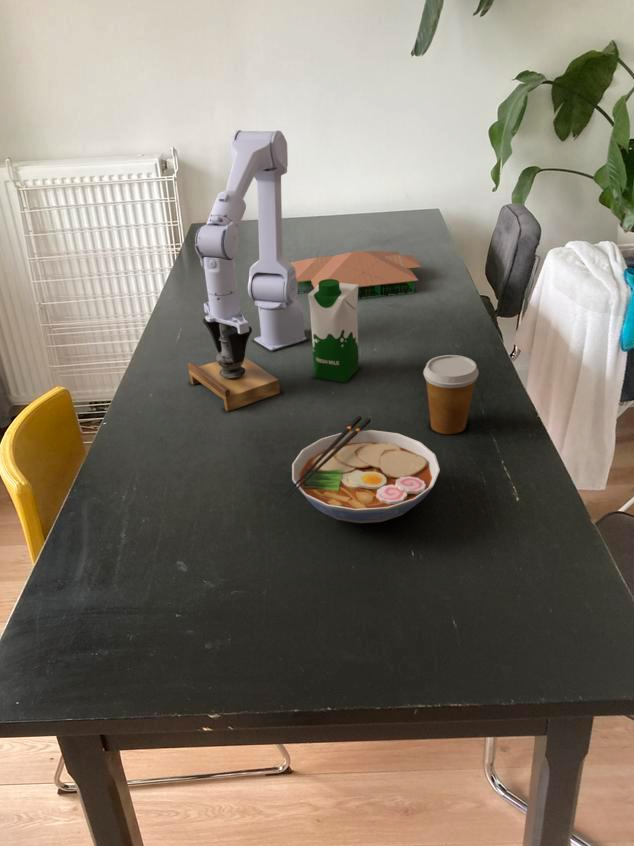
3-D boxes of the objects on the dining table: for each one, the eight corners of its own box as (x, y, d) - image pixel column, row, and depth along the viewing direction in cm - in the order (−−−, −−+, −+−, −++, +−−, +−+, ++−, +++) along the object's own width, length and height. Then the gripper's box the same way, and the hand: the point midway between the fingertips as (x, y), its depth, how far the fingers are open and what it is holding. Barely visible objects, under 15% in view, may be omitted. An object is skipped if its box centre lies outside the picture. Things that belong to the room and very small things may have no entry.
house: (428, 291, 201) (429, 259, 197) (298, 306, 199) (296, 273, 194) (407, 262, 220) (407, 232, 215) (287, 275, 218) (285, 244, 213)
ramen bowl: (394, 572, 114) (394, 526, 110) (262, 528, 125) (257, 484, 120) (464, 484, 131) (466, 441, 126) (342, 452, 142) (340, 411, 137)
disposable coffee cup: (478, 416, 149) (483, 356, 142) (470, 441, 142) (474, 380, 135) (427, 410, 152) (429, 351, 145) (416, 435, 145) (418, 374, 138)
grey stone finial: (242, 379, 160) (236, 321, 153) (214, 378, 161) (206, 321, 154) (250, 366, 164) (244, 309, 157) (222, 365, 165) (215, 309, 158)
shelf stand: (240, 366, 173) (238, 347, 170) (279, 393, 162) (278, 372, 159) (190, 383, 168) (187, 363, 165) (227, 411, 157) (224, 390, 154)
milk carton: (308, 379, 166) (302, 284, 154) (326, 361, 172) (321, 269, 161) (348, 385, 162) (345, 289, 151) (364, 366, 169) (362, 272, 157)
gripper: (186, 285, 156) (196, 350, 164) (222, 306, 146) (230, 374, 154) (218, 276, 159) (226, 340, 167) (255, 296, 149) (262, 364, 157)
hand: (230, 356), depth 161 cm, fingers closed on grey stone finial, 6 cm apart
